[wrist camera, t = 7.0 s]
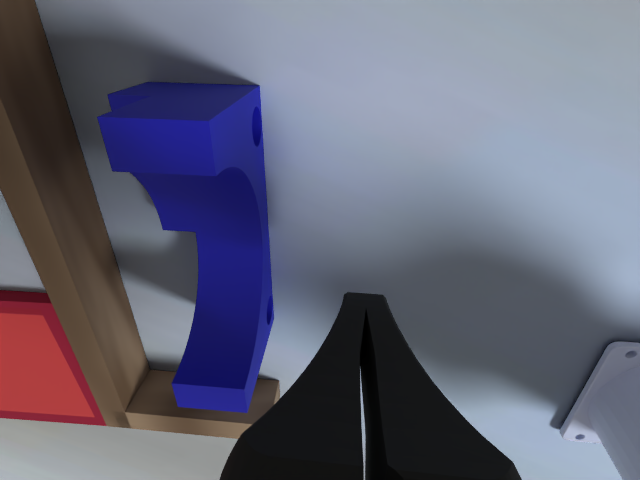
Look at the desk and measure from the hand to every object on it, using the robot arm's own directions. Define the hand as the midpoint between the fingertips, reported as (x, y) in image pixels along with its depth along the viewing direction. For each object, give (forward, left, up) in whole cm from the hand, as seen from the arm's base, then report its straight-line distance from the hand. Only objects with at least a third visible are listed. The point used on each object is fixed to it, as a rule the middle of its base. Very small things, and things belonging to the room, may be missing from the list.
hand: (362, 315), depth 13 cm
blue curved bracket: (+7, -1, -6) cm, 9 cm away
